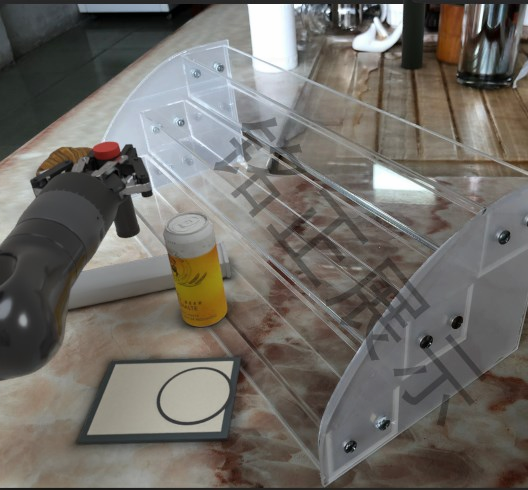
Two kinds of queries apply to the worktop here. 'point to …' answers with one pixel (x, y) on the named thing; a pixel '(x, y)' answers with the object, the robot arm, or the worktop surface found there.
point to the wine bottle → (412, 35)
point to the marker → (125, 212)
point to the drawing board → (164, 401)
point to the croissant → (63, 157)
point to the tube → (130, 279)
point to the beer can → (195, 268)
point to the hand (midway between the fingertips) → (116, 151)
